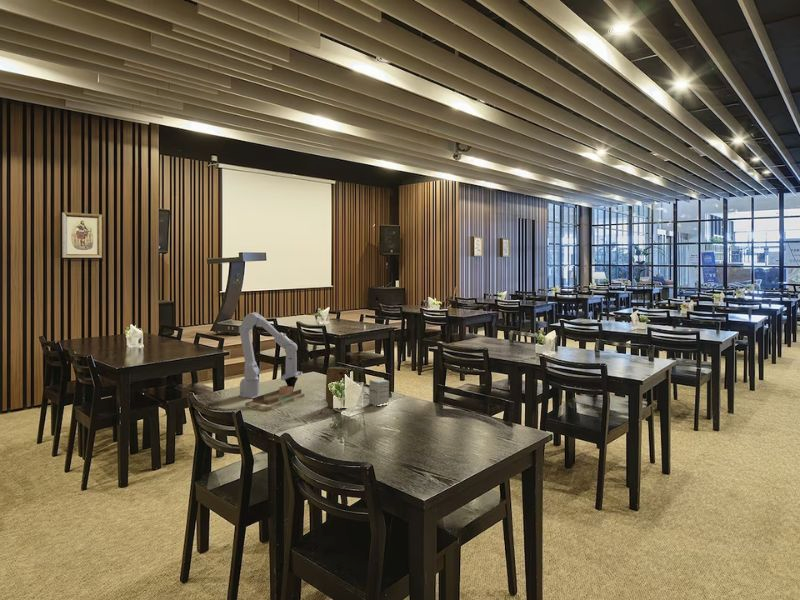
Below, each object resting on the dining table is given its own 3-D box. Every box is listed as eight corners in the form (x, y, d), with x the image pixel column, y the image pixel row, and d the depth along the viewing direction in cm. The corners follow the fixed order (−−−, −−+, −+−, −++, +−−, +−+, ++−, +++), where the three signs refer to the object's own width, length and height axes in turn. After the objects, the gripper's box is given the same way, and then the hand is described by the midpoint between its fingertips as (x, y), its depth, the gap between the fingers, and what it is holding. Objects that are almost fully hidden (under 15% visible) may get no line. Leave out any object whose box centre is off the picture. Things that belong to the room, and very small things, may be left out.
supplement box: (368, 404, 259) (368, 379, 258) (379, 401, 264) (380, 377, 263) (377, 407, 253) (378, 382, 252) (388, 405, 258) (389, 380, 257)
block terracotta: (279, 395, 264) (279, 387, 264) (285, 392, 269) (285, 385, 268) (287, 396, 262) (287, 388, 262) (293, 394, 267) (293, 386, 266)
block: (324, 407, 251) (324, 367, 250) (333, 404, 257) (334, 364, 256) (341, 411, 245) (342, 370, 244) (351, 407, 252) (351, 367, 250)
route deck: (245, 407, 248) (245, 398, 248) (283, 393, 274) (283, 386, 274) (267, 411, 242) (268, 402, 242) (304, 397, 268) (304, 390, 268)
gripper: (288, 368, 260) (288, 395, 261) (305, 364, 273) (305, 389, 274) (277, 367, 263) (277, 393, 264) (294, 362, 276) (294, 387, 277)
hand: (290, 391), depth 269 cm, fingers closed
